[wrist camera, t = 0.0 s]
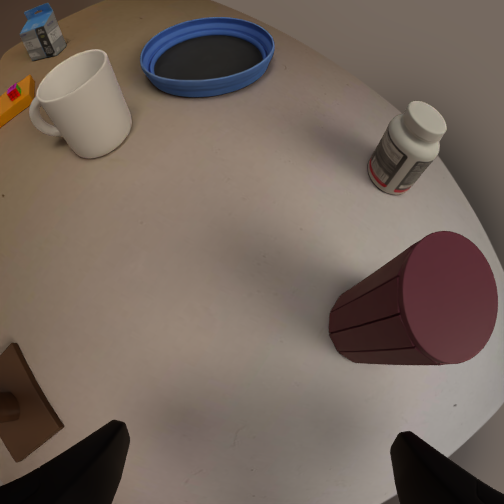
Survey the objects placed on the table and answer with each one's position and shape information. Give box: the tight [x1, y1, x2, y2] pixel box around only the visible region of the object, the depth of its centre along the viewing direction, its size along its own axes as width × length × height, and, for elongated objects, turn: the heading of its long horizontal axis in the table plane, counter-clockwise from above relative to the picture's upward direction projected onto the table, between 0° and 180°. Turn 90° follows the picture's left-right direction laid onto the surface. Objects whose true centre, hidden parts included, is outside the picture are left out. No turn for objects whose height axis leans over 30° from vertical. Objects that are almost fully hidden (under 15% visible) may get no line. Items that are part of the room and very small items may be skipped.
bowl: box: [140, 17, 274, 97], centre depth 34 cm, size 18×18×4 cm
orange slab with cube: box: [0, 75, 35, 128], centre depth 32 cm, size 8×8×4 cm
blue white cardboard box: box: [20, 3, 67, 61], centre depth 34 cm, size 9×4×12 cm, turn 76°
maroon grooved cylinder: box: [329, 231, 498, 365], centre depth 18 cm, size 7×7×13 cm
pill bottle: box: [368, 101, 446, 195], centre depth 25 cm, size 5×5×10 cm
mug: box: [29, 49, 132, 158], centre depth 26 cm, size 12×8×10 cm
